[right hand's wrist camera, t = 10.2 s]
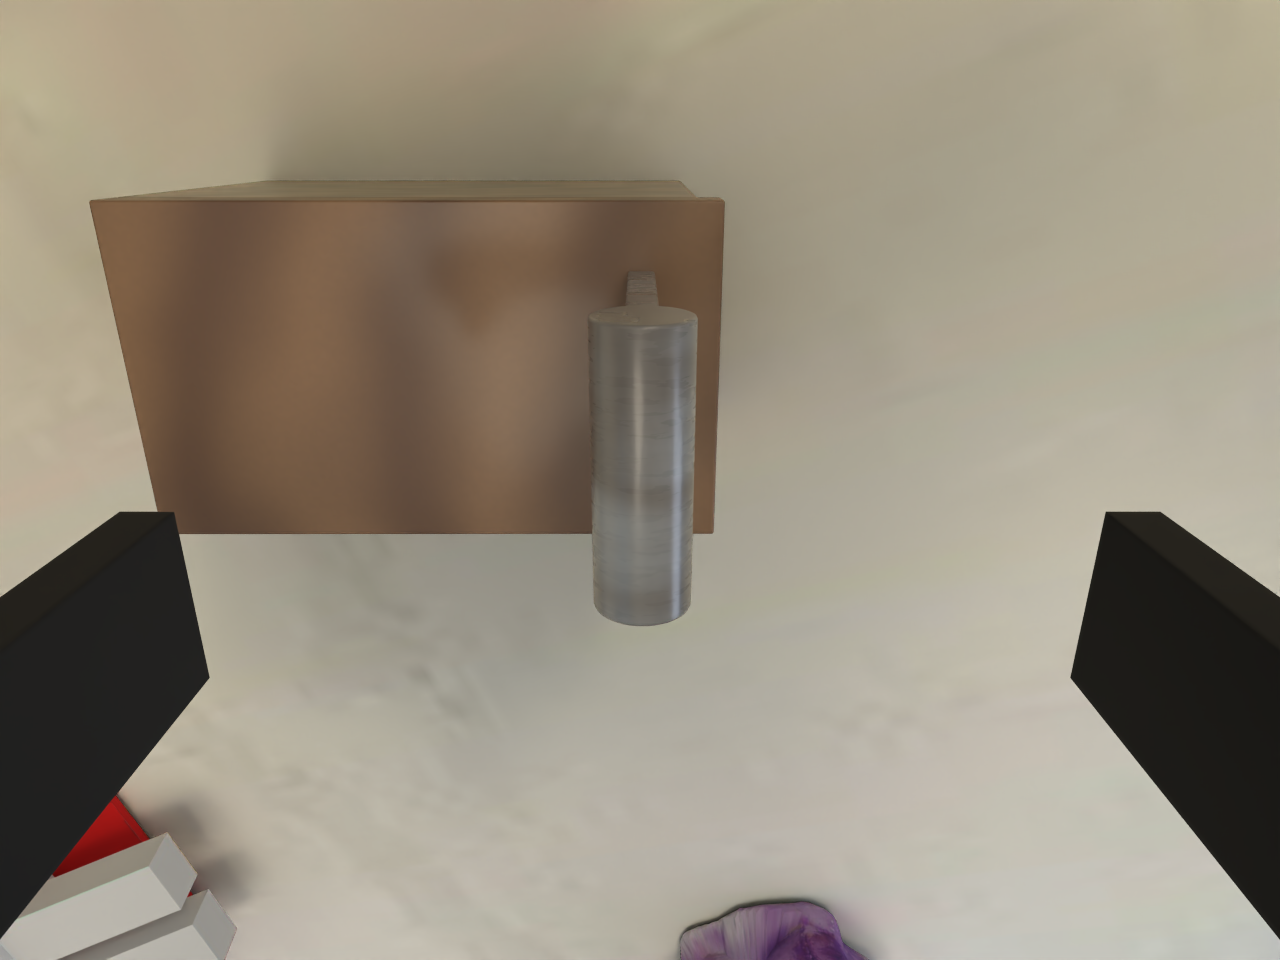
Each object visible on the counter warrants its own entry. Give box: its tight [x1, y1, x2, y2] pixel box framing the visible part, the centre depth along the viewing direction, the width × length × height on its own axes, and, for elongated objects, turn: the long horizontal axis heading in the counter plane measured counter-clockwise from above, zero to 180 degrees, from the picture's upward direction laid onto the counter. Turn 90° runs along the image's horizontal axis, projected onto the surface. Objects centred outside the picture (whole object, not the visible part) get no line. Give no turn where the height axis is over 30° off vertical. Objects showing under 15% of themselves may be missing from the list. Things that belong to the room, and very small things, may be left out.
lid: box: [89, 197, 725, 626], centre depth 21 cm, size 16×9×9 cm, turn 90°
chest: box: [118, 181, 696, 198], centre depth 29 cm, size 16×9×10 cm, turn 90°
